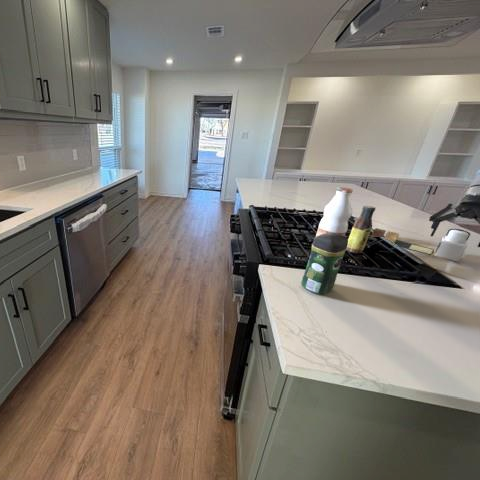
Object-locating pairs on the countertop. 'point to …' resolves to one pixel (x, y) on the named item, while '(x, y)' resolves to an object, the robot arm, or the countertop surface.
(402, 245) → the word mat
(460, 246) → the medicine bottle
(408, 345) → the countertop surface
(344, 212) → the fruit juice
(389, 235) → the maple letter tile
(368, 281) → the countertop surface
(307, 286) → the coffee jar
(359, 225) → the sauce bottle
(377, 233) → the walnut letter tile
